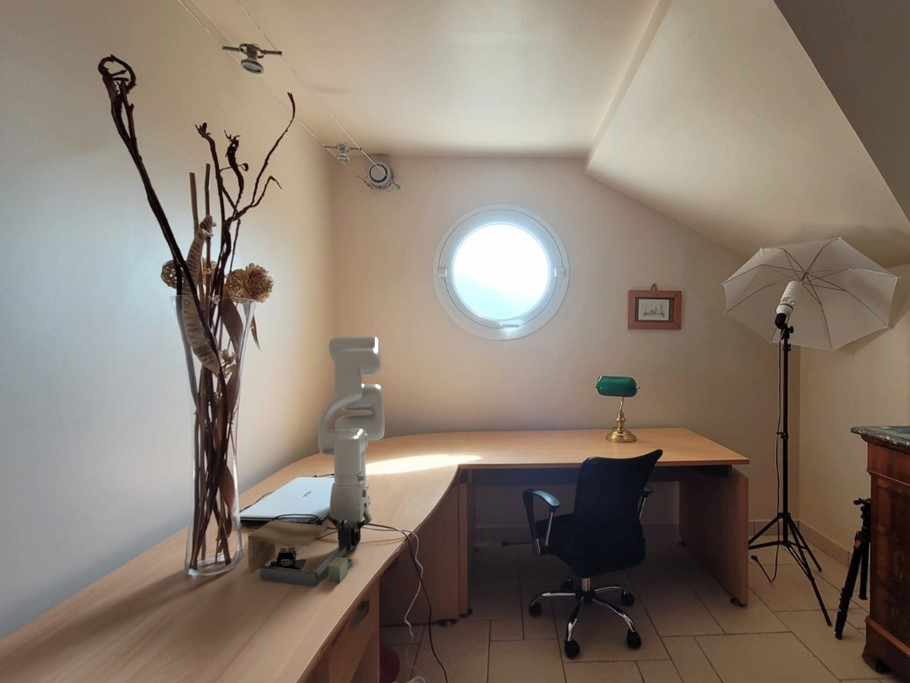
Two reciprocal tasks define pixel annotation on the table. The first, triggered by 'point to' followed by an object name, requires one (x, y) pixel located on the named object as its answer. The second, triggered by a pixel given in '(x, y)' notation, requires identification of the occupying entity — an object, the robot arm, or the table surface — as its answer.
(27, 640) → the table surface
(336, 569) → the pale green block
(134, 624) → the table surface
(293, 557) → the black phone stand
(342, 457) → the robot arm
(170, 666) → the table surface
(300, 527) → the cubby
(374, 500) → the table surface
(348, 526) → the grey angular bent frame
